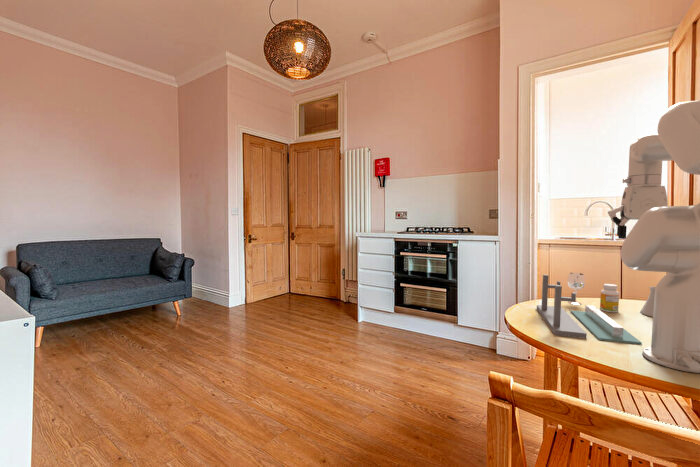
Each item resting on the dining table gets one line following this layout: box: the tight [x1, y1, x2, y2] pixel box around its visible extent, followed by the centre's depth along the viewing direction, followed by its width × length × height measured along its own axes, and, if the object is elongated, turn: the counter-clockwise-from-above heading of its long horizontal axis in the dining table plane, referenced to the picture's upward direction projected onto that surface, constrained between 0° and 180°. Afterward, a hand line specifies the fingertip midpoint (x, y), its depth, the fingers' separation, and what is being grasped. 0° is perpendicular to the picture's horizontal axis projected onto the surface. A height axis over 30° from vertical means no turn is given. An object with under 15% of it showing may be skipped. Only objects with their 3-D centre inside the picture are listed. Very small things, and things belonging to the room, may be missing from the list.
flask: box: [640, 286, 656, 318], centre depth 118 cm, size 7×7×10 cm
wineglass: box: [567, 272, 586, 306], centre depth 133 cm, size 6×6×12 cm
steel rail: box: [584, 304, 625, 338], centre depth 107 cm, size 24×2×3 cm, turn 161°
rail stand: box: [536, 274, 587, 339], centre depth 111 cm, size 28×8×14 cm, turn 160°
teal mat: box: [570, 310, 643, 345], centre depth 107 cm, size 28×10×1 cm, turn 160°
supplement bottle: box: [599, 283, 620, 313], centre depth 123 cm, size 5×5×10 cm
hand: (641, 239), depth 100 cm, fingers open, 9 cm apart
